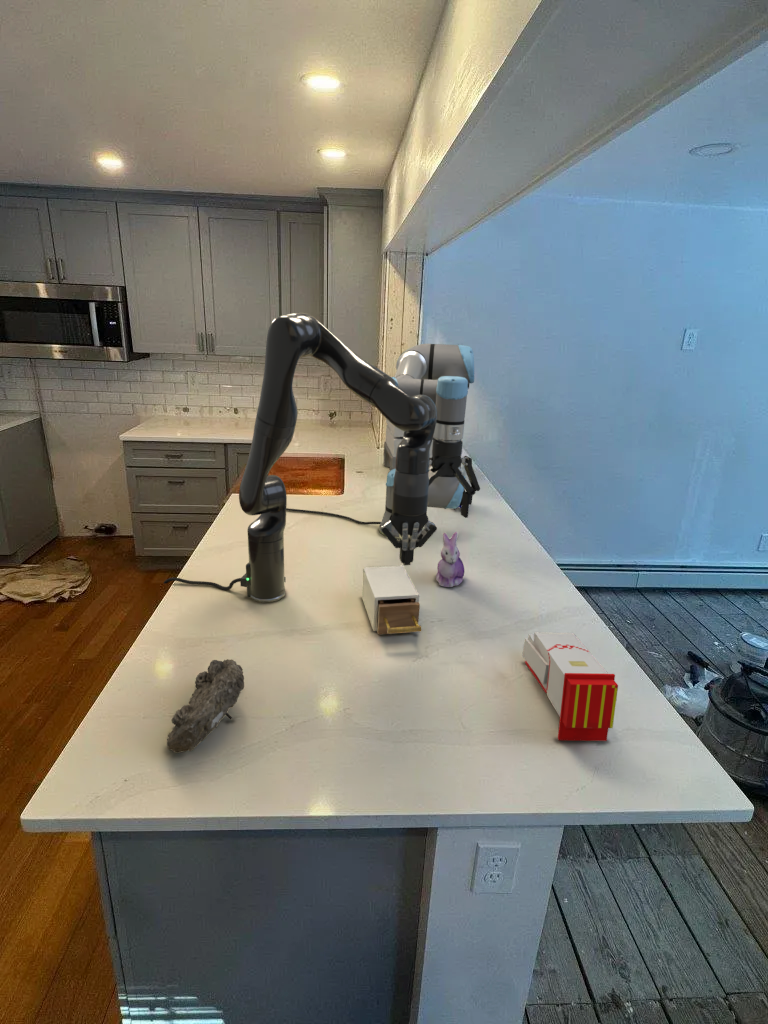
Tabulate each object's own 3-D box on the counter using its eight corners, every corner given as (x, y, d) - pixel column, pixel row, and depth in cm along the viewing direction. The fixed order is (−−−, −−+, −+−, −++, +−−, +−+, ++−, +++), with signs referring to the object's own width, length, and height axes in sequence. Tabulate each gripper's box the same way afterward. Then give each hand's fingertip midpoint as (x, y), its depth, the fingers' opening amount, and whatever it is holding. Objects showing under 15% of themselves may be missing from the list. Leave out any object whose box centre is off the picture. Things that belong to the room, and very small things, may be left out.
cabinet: (416, 628, 141) (419, 594, 138) (373, 631, 139) (374, 597, 136) (401, 595, 157) (403, 565, 154) (362, 598, 155) (363, 567, 152)
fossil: (192, 660, 117) (244, 628, 112) (224, 691, 120) (276, 661, 115) (142, 746, 98) (202, 712, 93) (182, 779, 101) (242, 748, 96)
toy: (569, 616, 131) (627, 681, 101) (563, 669, 133) (618, 748, 104) (517, 615, 130) (560, 680, 101) (512, 669, 133) (553, 747, 104)
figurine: (445, 591, 160) (450, 542, 155) (426, 576, 169) (430, 529, 164) (473, 585, 164) (478, 537, 159) (453, 571, 173) (457, 525, 168)
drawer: (424, 645, 133) (426, 617, 130) (383, 648, 131) (384, 620, 128) (402, 600, 153) (404, 575, 150) (366, 602, 151) (367, 577, 148)
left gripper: (384, 496, 117) (380, 572, 122) (445, 495, 119) (439, 569, 125) (377, 485, 123) (374, 558, 129) (435, 484, 126) (429, 555, 132)
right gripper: (408, 444, 136) (403, 527, 143) (498, 440, 144) (489, 519, 151) (396, 437, 142) (392, 517, 149) (483, 434, 151) (475, 509, 158)
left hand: (406, 563), depth 127 cm, fingers closed
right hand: (441, 518), depth 150 cm, fingers open, 13 cm apart
